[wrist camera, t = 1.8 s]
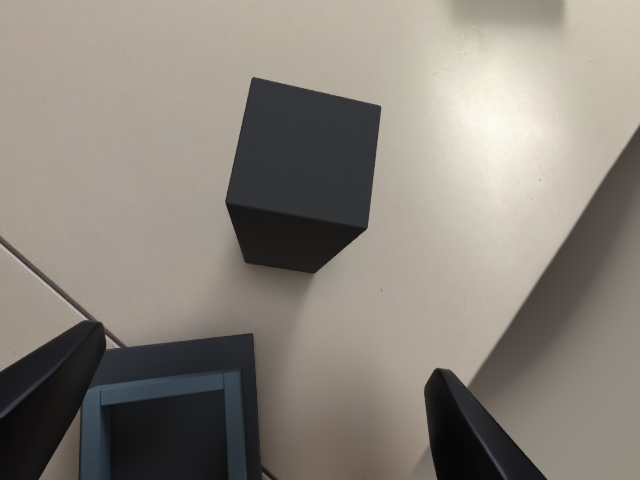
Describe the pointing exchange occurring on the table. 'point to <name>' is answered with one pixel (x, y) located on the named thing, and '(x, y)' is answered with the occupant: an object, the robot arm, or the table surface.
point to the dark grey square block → (301, 175)
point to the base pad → (173, 413)
